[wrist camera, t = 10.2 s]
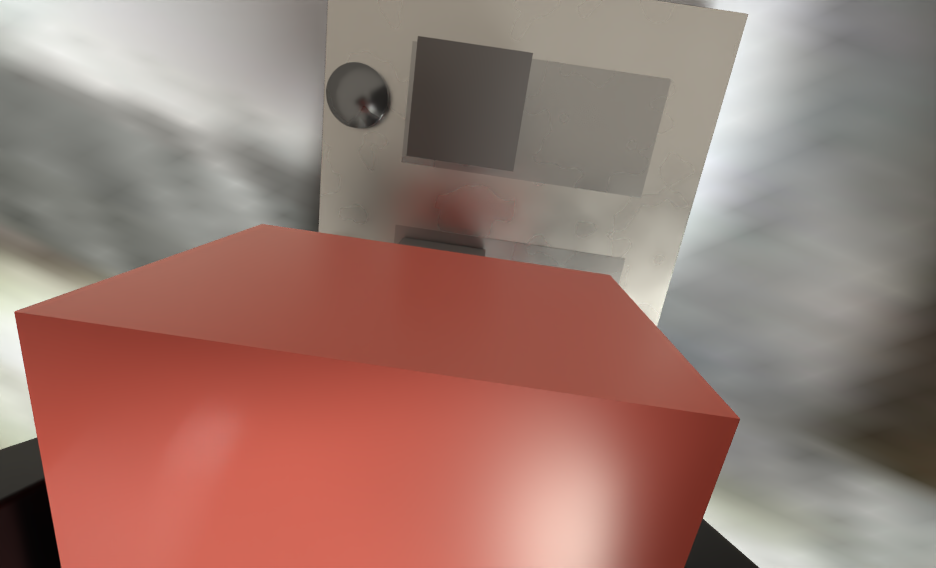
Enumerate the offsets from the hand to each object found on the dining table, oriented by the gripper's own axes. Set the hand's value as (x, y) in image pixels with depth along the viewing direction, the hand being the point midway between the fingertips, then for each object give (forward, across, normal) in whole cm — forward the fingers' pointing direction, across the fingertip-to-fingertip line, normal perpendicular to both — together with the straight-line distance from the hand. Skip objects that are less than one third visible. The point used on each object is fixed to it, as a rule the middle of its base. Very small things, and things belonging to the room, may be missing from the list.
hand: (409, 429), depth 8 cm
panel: (+11, -1, 0) cm, 11 cm away
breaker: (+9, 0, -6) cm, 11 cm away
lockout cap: (+1, 0, 0) cm, 1 cm away
